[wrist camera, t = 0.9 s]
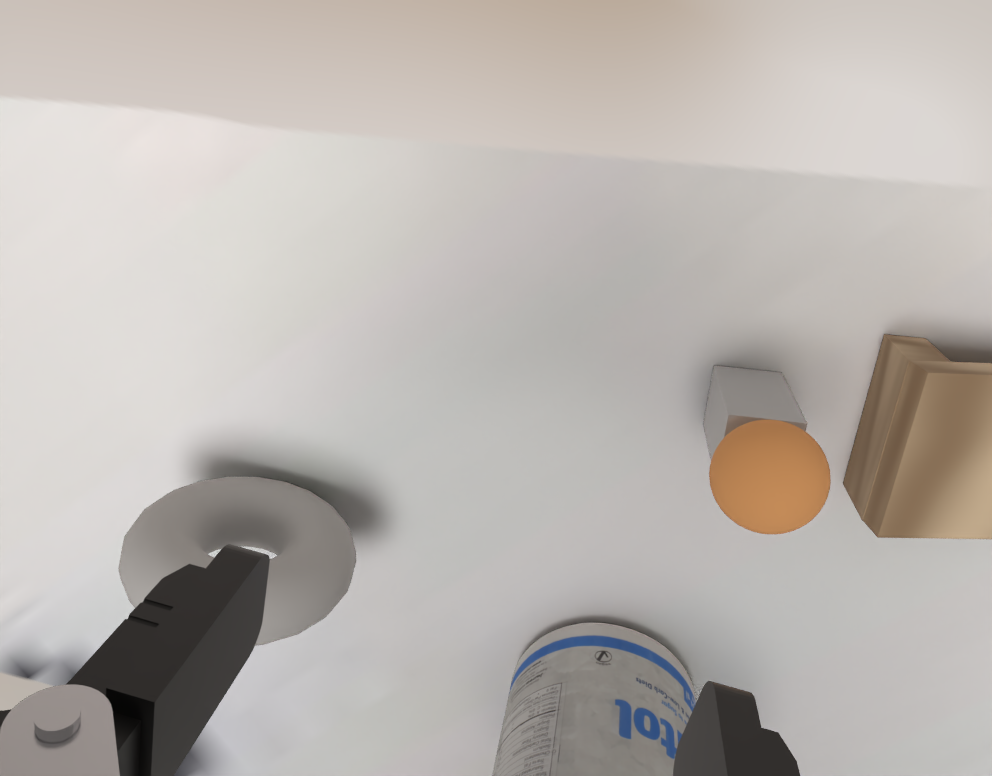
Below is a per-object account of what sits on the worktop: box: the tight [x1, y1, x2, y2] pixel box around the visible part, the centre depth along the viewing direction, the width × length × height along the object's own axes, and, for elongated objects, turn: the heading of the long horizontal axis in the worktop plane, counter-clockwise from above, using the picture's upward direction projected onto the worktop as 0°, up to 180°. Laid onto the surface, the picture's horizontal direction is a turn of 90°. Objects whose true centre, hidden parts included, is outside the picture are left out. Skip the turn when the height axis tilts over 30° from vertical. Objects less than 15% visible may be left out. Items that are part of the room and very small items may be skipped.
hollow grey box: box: [703, 365, 807, 460], centre depth 31 cm, size 3×3×5 cm
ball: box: [709, 420, 830, 534], centre depth 27 cm, size 4×4×4 cm
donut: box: [119, 477, 356, 645], centre depth 34 cm, size 10×4×10 cm, turn 79°
